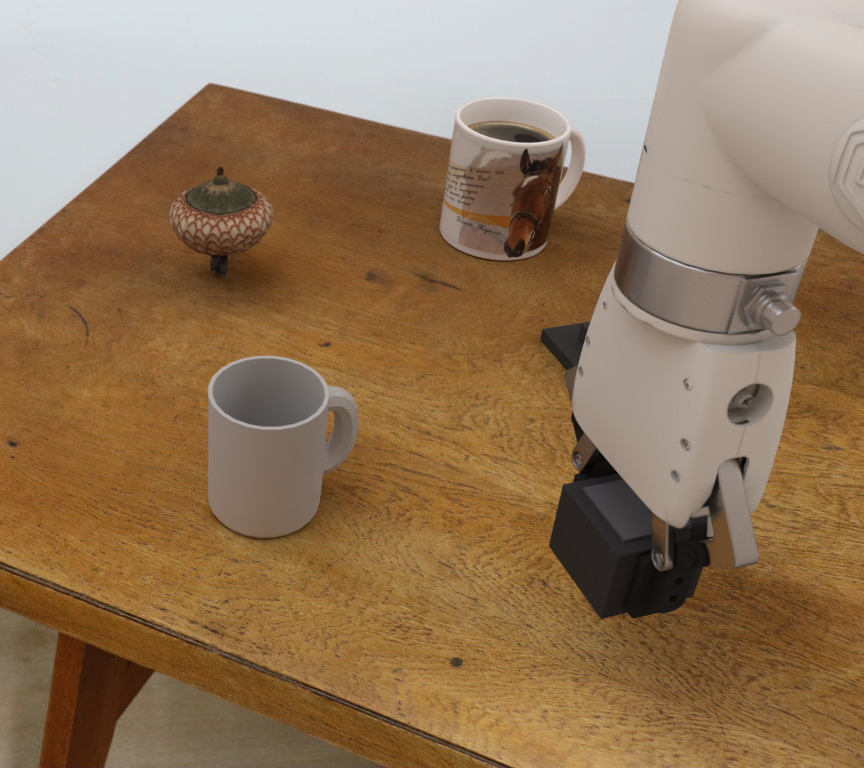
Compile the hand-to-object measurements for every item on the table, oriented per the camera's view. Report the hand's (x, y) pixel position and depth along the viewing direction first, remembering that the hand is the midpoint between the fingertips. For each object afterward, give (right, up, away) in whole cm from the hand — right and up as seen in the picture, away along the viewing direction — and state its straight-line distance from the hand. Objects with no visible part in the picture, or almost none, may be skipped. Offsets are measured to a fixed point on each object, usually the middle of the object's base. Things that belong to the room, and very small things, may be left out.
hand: (621, 563), depth 59 cm
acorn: (-23, +18, +34) cm, 45 cm away
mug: (+2, +23, +42) cm, 48 cm away
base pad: (+10, +10, +26) cm, 29 cm away
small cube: (0, 0, 0) cm, 1 cm away
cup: (-18, +2, +13) cm, 22 cm away
